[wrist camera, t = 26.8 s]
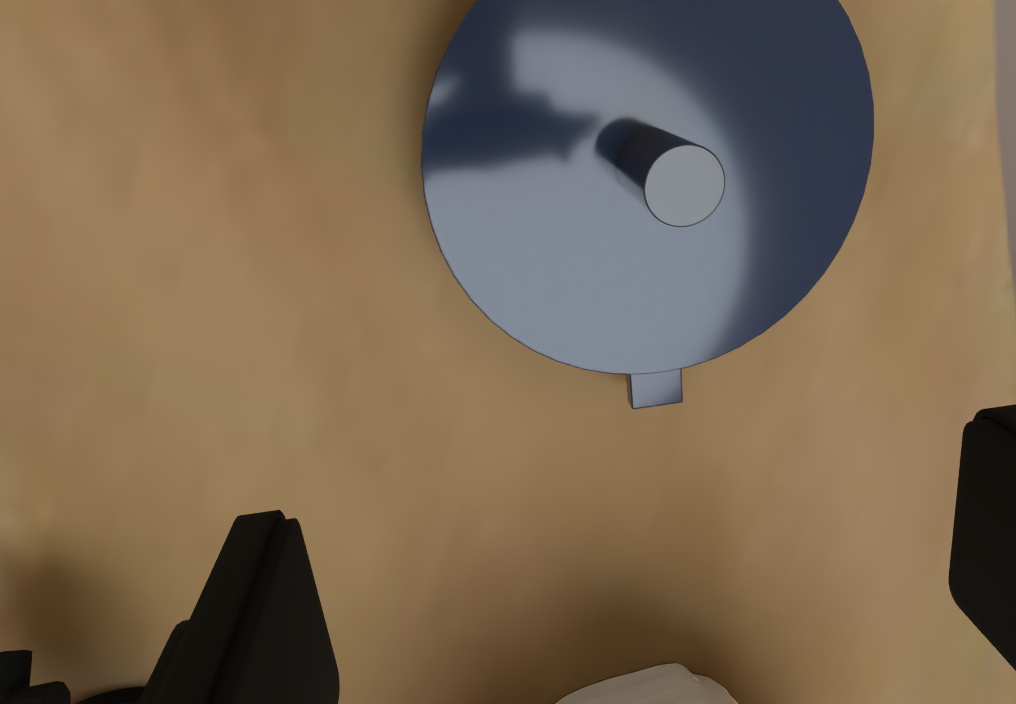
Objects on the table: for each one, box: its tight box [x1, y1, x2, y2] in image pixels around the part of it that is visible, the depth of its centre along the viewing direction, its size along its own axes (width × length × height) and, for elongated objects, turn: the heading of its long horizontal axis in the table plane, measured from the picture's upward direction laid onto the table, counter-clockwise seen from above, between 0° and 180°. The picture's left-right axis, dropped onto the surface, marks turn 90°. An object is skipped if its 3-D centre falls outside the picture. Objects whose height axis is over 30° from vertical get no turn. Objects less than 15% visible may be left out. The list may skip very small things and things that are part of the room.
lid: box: [421, 0, 874, 375], centre depth 29 cm, size 18×18×6 cm
